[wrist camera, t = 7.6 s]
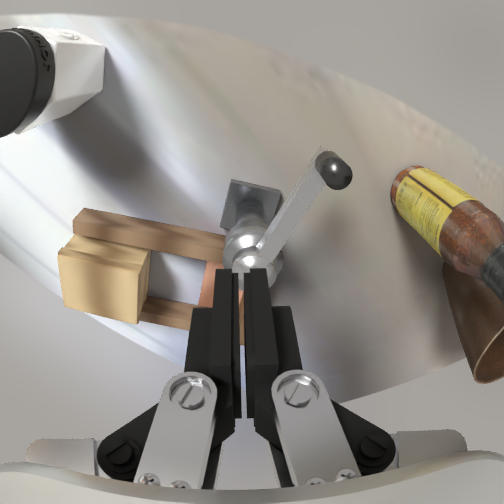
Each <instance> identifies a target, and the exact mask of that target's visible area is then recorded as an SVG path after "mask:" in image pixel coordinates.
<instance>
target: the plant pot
mask: <svg viewBox="0 0 504 504" xmlns="http://www.w3.org/2000/svg"><path fill="white" fill-rule="evenodd" d="M443 277H444V281H445V286H446V291H447V295H448V299H449V303H450V307H451V310H452V314H453V317H454V321H455V324H456V328H457V331H458V334H459V337H460V340H461V343H462V346H463V349H464V352H465V354H466V357H467V360H468V363H469V365H470V368H471V371H472V374H473V377H474V380H475V381H476V382H477V383H481V384H486V383H491V382H494V381H497V380H499V379H501V378H503V377H504V307H503V303H502V301H501V300H500V299H499V298H498V296H497V295H496V294H495V293H494V292H493V291H492V289H491V288H488V287H487V286H486V284H485V283H484V282H482V281H481V280H479V279H477V278H476V277H473V276H471V275H468V274H466V273H463V272H459V271H456V270H455V269H454V268H453V267H452V266H451V265H450V264H448V263H447V262H446V261H445V262H444V266H443Z"/></svg>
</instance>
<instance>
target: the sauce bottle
mask: <svg viewBox="0 0 504 504" xmlns="http://www.w3.org/2000/svg"><path fill="white" fill-rule="evenodd" d="M391 199H392V202H393V205H394V207H395V209H396V210H397V211H398V212H399V214H400V215H401V216H402V217H403V218H404V219H405V220H406V221H407V222H408V223H409V224H410V225H411V226H412V227H413V228H414V229H415V230H416V231H417V232H418V233H419V234H420V235H421V236H422V237H423V238H424V239H425V240H426V241H427V242H428V243H429V244H430V245H431V246H432V247H433V248H434V250H435V251H436V252H437V253H438V254H439V255H440V256H441V257H442V258H443V259H444V260H445V261H446V262H447V263H448V264H450V265H451V266H452V267H453V268H454V269H455V270H456V271H459V272H463V273H466V274H468V275H471V276H473V277H476V278H477V279H479V280H481V281H482V282H484V283H485V284H486V286H487V287H488V288H491V289H492V291H493V292H494V293H495V294H496V295H497V296H498V298H499V299H500V300H501V301H502V303H503V307H504V223H503V221H502V220H501V219H500V218H499V217H498V216H497V215H496V214H495V213H493V212H492V211H490V210H489V209H488V208H486V207H485V206H484V205H483V204H482V203H481V202H480V201H478V200H477V199H475V198H474V197H472V196H471V195H469V194H468V193H467V192H465V191H464V190H462V189H461V188H459V187H458V186H456V185H454V184H453V183H451V182H450V181H448V180H446V179H445V178H443V177H442V176H440V175H439V174H437V173H435V172H434V171H432V170H430V169H426V168H424V167H421V166H412V167H409V168H407V169H405V170H403V171H402V172H400V173H399V174H398V175H397V177H396V178H395V180H394V183H393V185H392V189H391Z"/></svg>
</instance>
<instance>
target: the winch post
mask: <svg viewBox="0 0 504 504" xmlns="http://www.w3.org/2000/svg"><path fill="white" fill-rule="evenodd" d="M280 195H281V192H280V190H277V189H273V188H269V187H264V186H260V185H256V184H251V183H247V182H242V181H238V180H233V179H231V182H230V186H229V190H228V194H227V198H226V202H225V206H224V210H223V215H222V219H221V223H220V227H221V228H226V229H230V230H229V232H228V233H227V235H226V237H225V240H224V247H223V268H224V269H232V260H233V257H234V256H235V254H236V253H237V252H238V251H239V250H241V249H243V248H245V247H249V246H257V244H258V243H259V241H260V240H261V238H262V237H263V235H264V233H265V232H266V230H267V229H268V227H269V226H270V224H271V223H272V220H273V217H274V214H275V211H276V208H277V205H278V202H279V198H280ZM274 261H275V266H276V273H277V276H278V274H279V273H280V272H281V270H282V267H283V263H284V258H283V253H282V249H281V250H280V252H279V253H278V255H277V256H276V257H275V259H274ZM277 276H276V277H277Z"/></svg>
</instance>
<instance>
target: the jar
mask: <svg viewBox="0 0 504 504" xmlns="http://www.w3.org/2000/svg"><path fill="white" fill-rule="evenodd" d="M104 58H105V46H104V45H102V44H100V43H98V42H96V41H94V40H92V39H90V38H88V37H86V36H84V35H82V34H80V33H78V32H76V31H74V30H66V29H58V28H48V27H35V26H19V27H18V28H12V29H4V30H1V31H0V138H1V137H4V136H7V135H9V134H11V133H13V132H14V133H16V134H21V133H23V132H26V131H28V130H30V129H33V128H35V127H37V126H40V125H42V124H45V123H47V122H50V121H52V120H55V119H57V118H60V117H62V116H65V115H68V114H70V113H72V112H73V111H74V110H76V109H77V108H78V107H80V106H81V105H82V104H84V103H85V102H86V101H88V100H89V99H91V98H92V97H93V96H95V95H96V94H98V93H99V92H101V91H102V90H103V77H104Z"/></svg>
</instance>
